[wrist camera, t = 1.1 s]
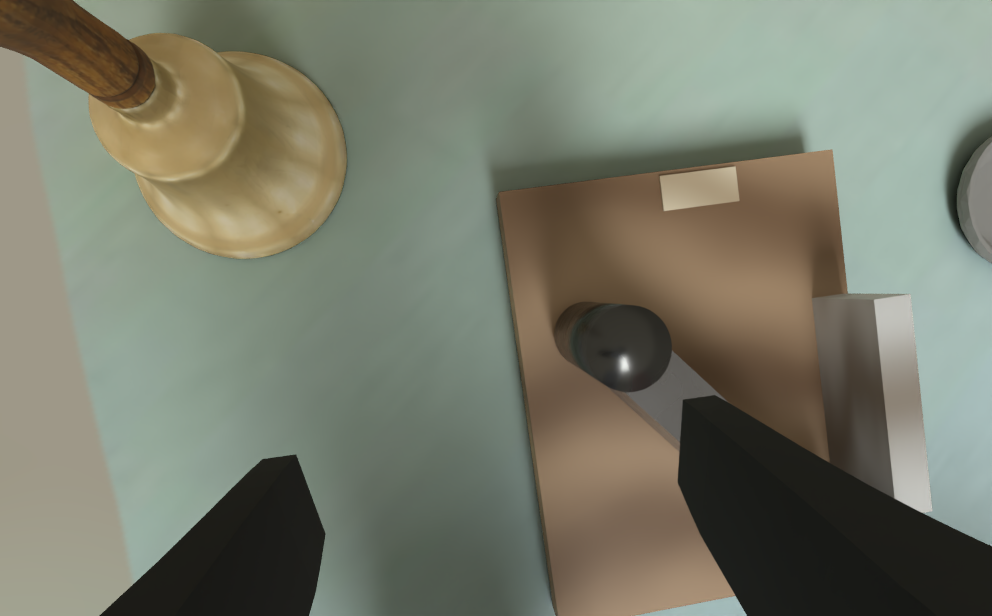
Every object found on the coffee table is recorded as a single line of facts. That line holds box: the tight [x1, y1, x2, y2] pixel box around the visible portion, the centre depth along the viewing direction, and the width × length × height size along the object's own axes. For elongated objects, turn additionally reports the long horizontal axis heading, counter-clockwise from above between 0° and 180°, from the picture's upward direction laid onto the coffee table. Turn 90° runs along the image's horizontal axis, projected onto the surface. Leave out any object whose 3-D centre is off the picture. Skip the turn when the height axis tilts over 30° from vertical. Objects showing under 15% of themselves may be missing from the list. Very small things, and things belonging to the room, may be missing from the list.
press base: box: [496, 150, 932, 616], centre depth 19 cm, size 18×14×4 cm
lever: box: [554, 302, 726, 451], centre depth 17 cm, size 16×3×5 cm, turn 48°
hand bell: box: [0, 0, 347, 259], centre depth 12 cm, size 8×8×16 cm
